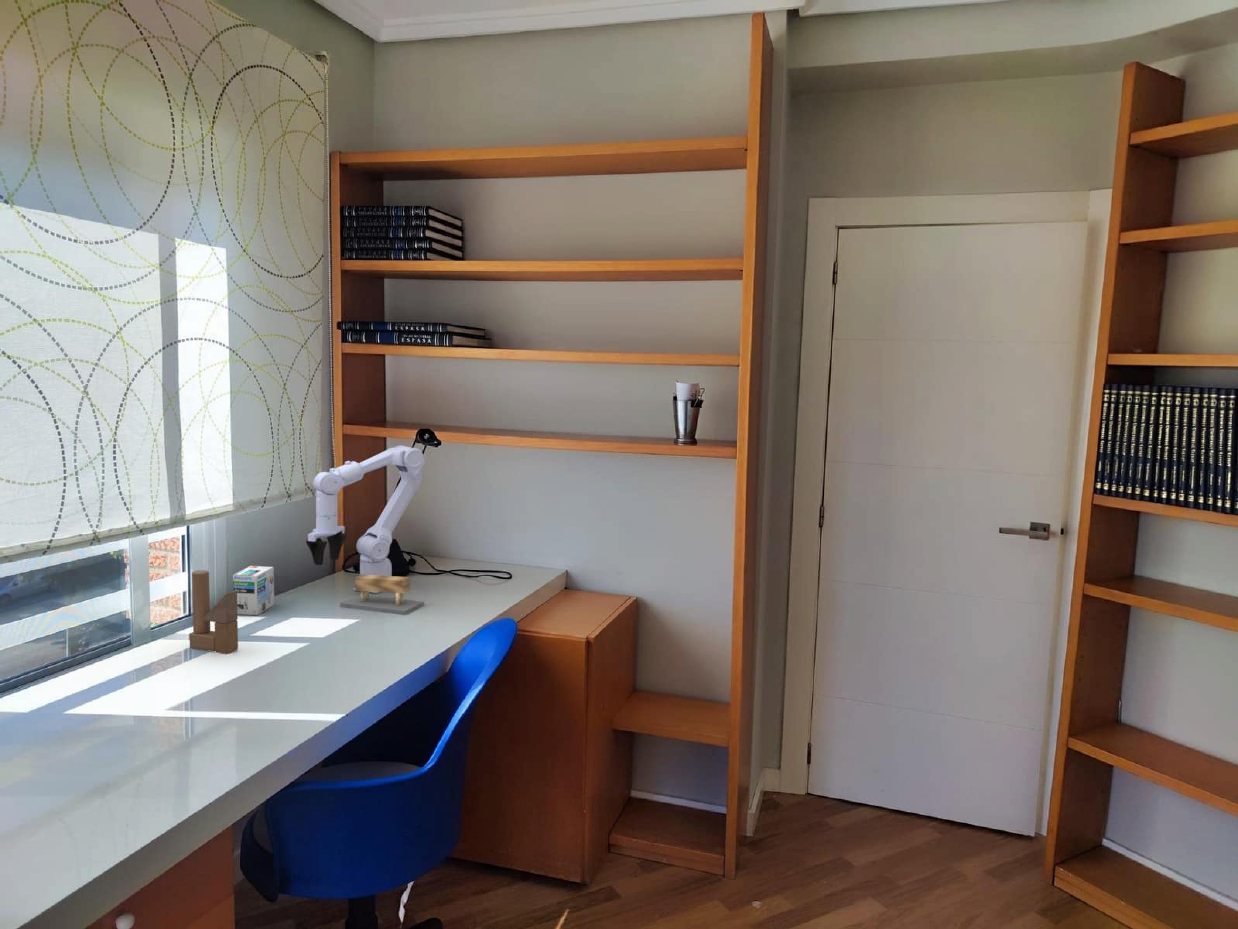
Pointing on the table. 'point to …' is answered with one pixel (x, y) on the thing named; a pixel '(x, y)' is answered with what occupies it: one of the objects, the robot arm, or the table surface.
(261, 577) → the light bulb box
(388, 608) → the peg stand
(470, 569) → the table surface
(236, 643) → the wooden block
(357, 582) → the light wood bar
